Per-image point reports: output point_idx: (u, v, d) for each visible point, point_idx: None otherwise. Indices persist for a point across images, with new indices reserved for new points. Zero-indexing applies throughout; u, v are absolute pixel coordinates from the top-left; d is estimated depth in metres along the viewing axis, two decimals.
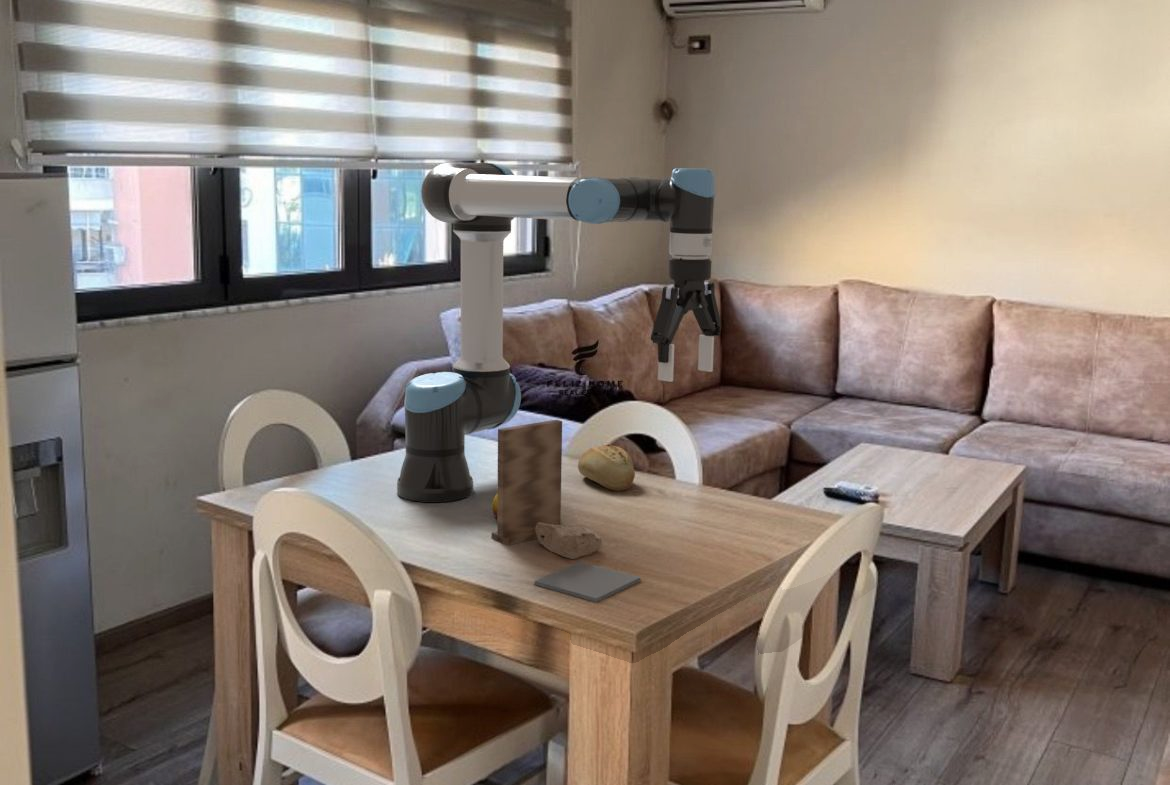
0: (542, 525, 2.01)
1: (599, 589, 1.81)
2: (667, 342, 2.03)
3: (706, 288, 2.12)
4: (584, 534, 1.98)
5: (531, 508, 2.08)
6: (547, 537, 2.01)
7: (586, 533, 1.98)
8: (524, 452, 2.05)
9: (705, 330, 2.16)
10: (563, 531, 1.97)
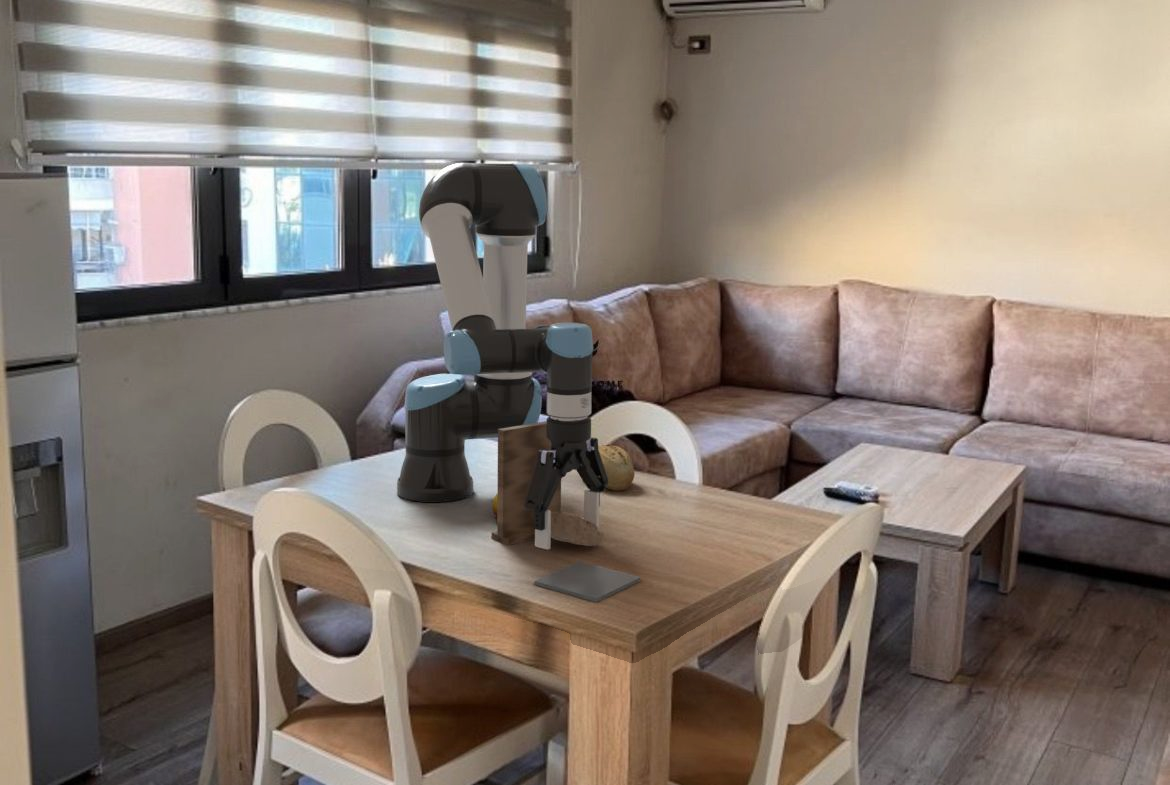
0: None
1: (599, 589, 1.81)
2: (542, 509, 1.92)
3: (589, 444, 2.02)
4: (588, 522, 2.00)
5: None
6: None
7: (590, 521, 2.00)
8: (524, 452, 2.05)
9: (590, 485, 2.05)
10: (568, 513, 1.99)
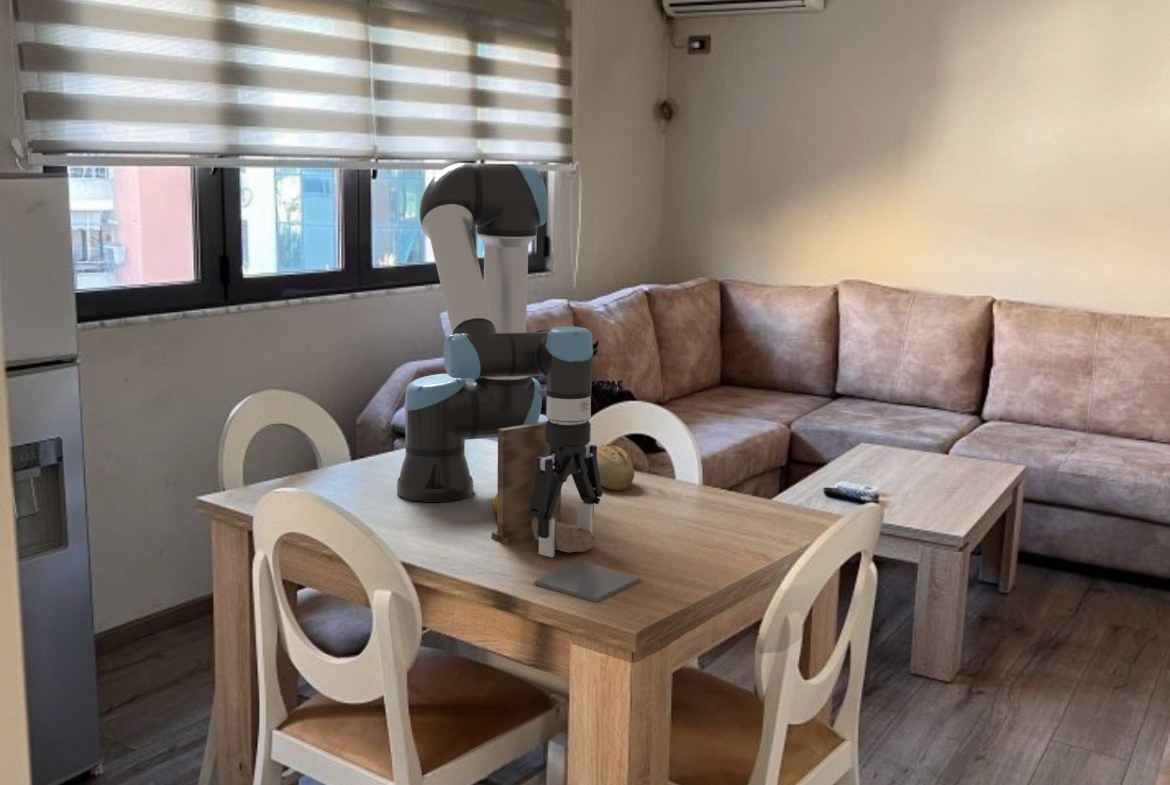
0: None
1: (599, 589, 1.81)
2: (546, 518, 1.93)
3: (588, 451, 2.02)
4: (580, 529, 1.98)
5: None
6: None
7: (582, 528, 1.98)
8: (524, 452, 2.05)
9: (584, 497, 2.04)
10: (560, 523, 1.97)
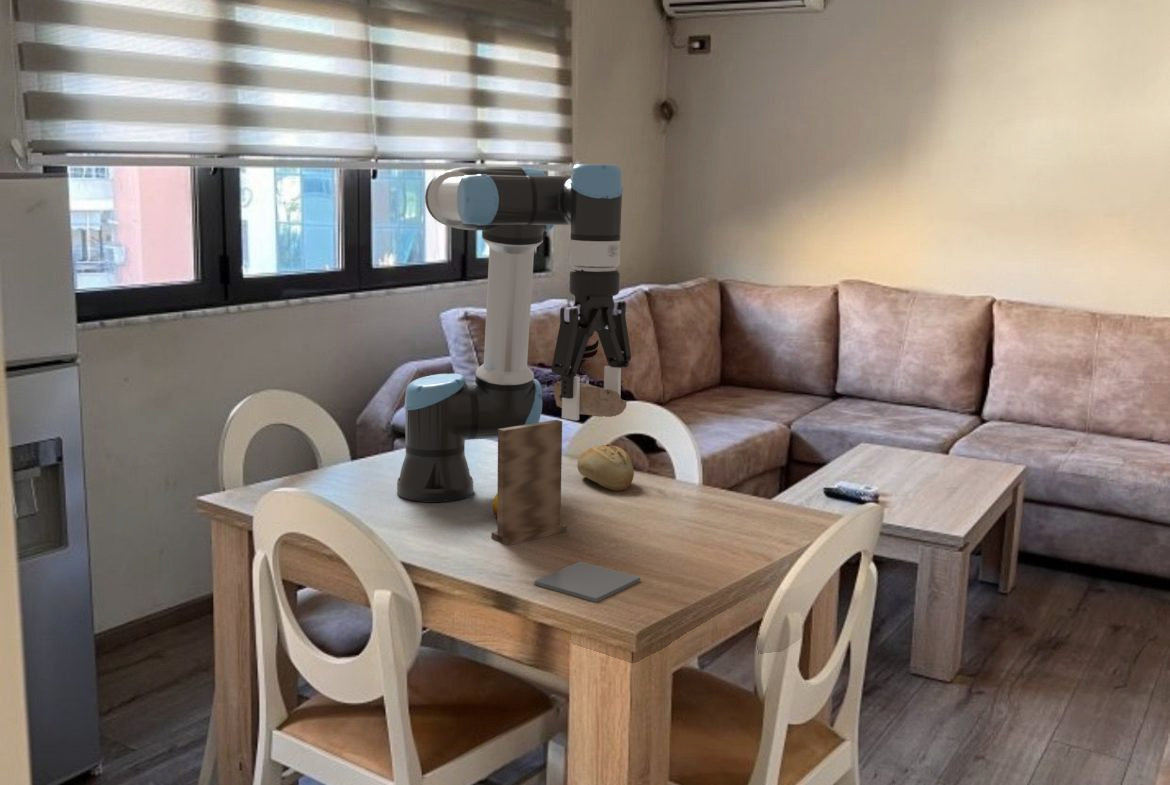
0: None
1: (599, 589, 1.81)
2: (571, 375, 1.73)
3: (616, 307, 1.82)
4: (608, 391, 1.78)
5: (531, 508, 2.08)
6: None
7: (611, 390, 1.78)
8: (524, 452, 2.05)
9: (611, 360, 1.84)
10: (586, 384, 1.77)
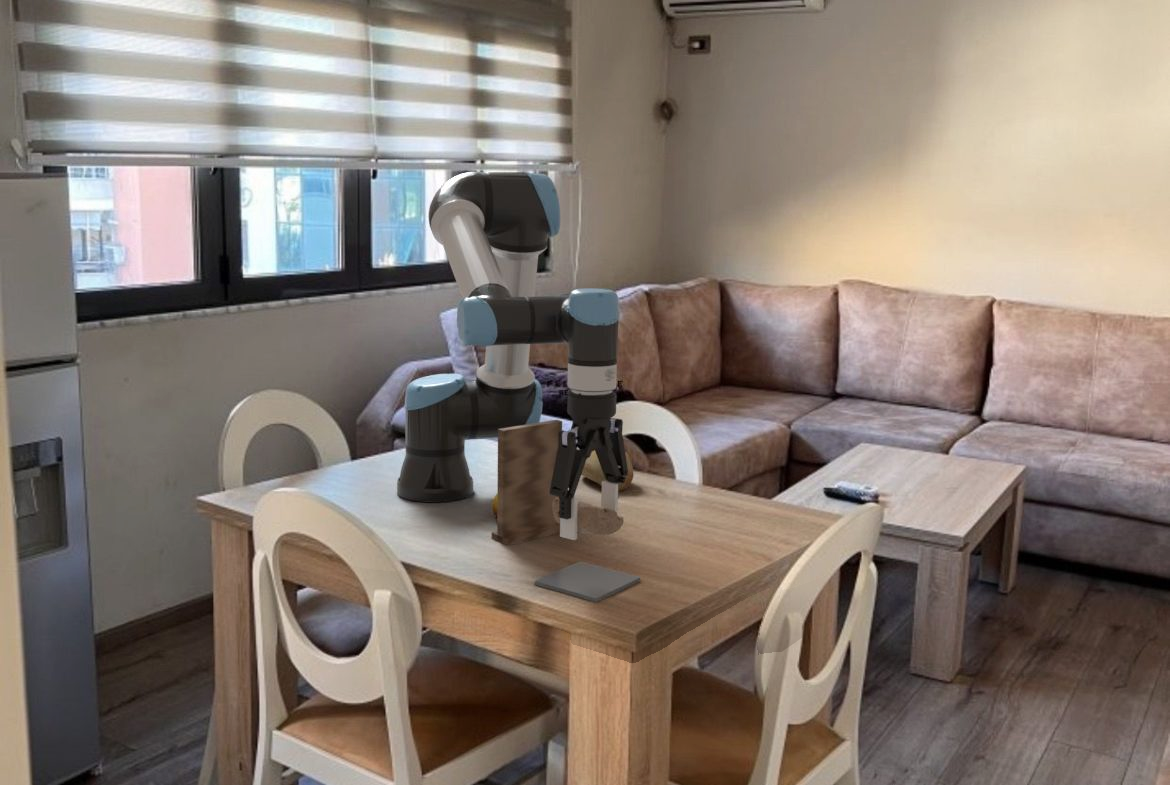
0: None
1: (599, 589, 1.81)
2: (569, 497, 1.77)
3: (613, 425, 1.85)
4: (606, 510, 1.81)
5: (531, 508, 2.08)
6: None
7: (608, 509, 1.81)
8: (524, 452, 2.05)
9: (608, 475, 1.88)
10: (583, 503, 1.80)
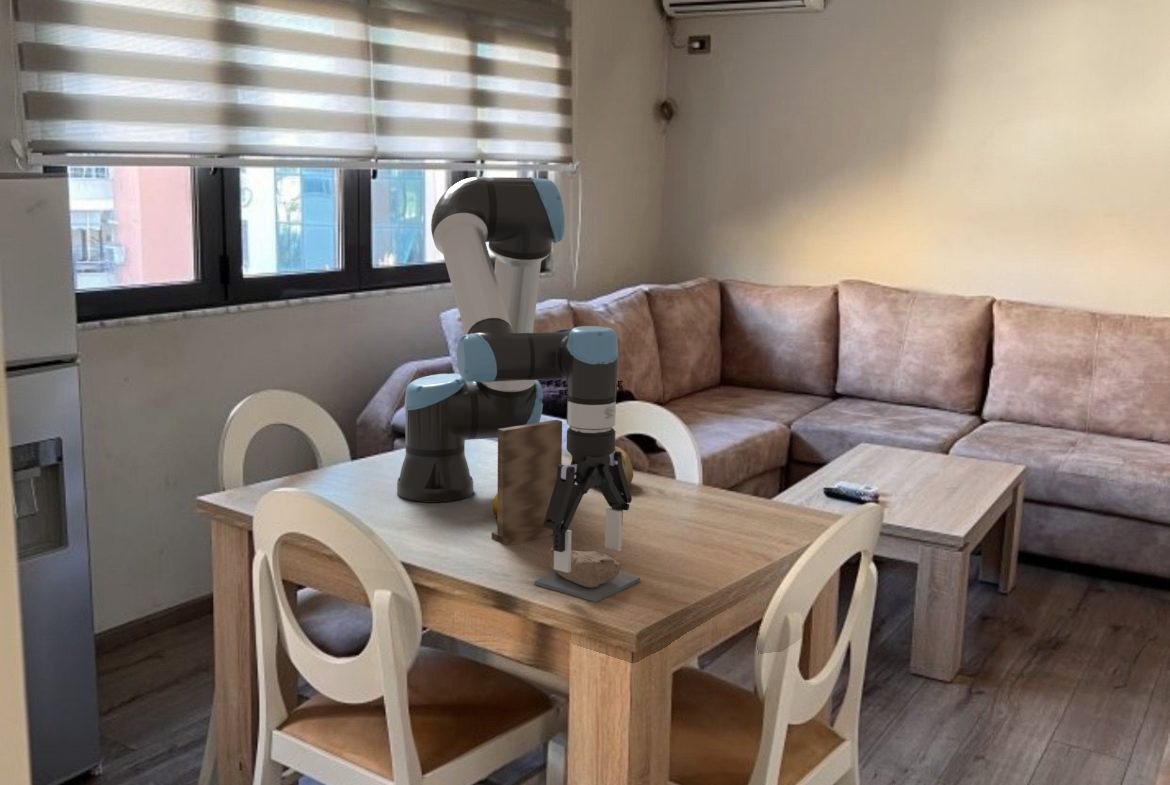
0: None
1: (599, 589, 1.81)
2: (562, 529, 1.77)
3: (612, 458, 1.86)
4: (603, 560, 1.82)
5: (531, 508, 2.08)
6: None
7: (605, 559, 1.82)
8: (524, 452, 2.05)
9: (612, 503, 1.90)
10: (581, 558, 1.81)
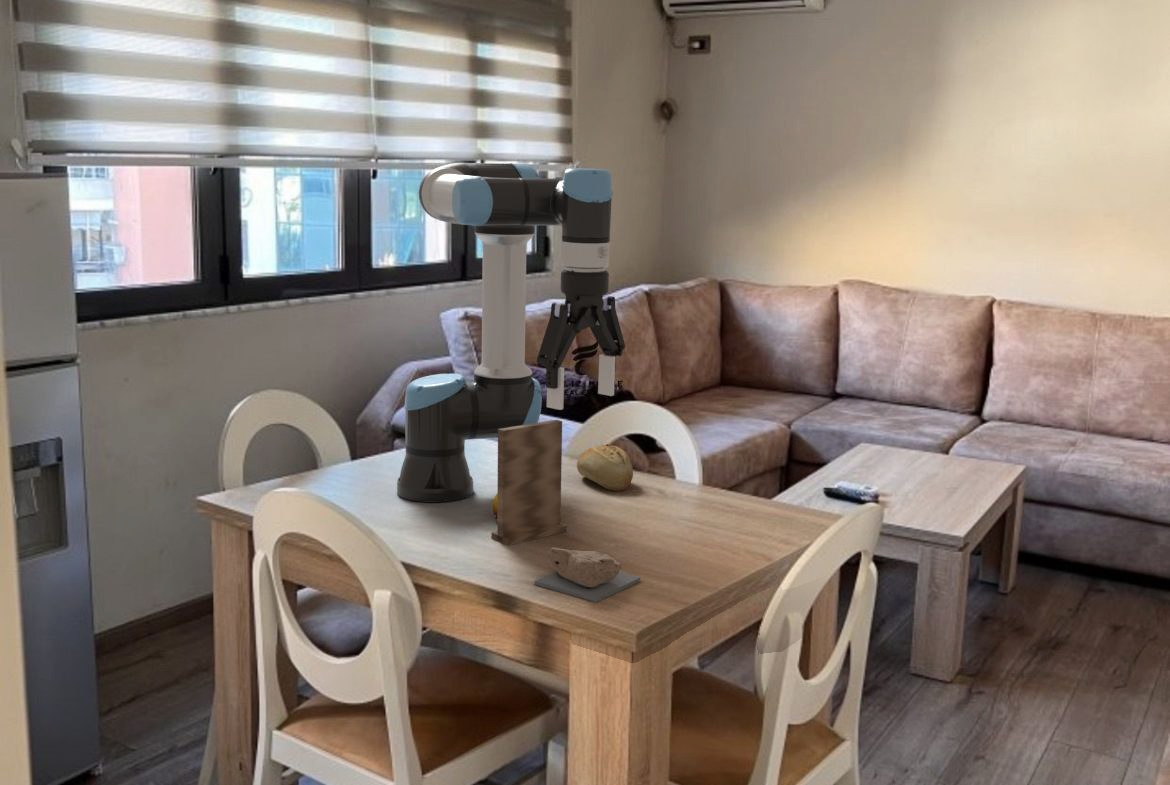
0: (556, 550, 1.85)
1: (599, 589, 1.81)
2: (555, 366, 1.80)
3: (605, 303, 1.89)
4: (603, 560, 1.82)
5: (531, 508, 2.08)
6: (562, 563, 1.85)
7: (605, 559, 1.83)
8: (524, 452, 2.05)
9: (606, 349, 1.93)
10: (580, 557, 1.81)
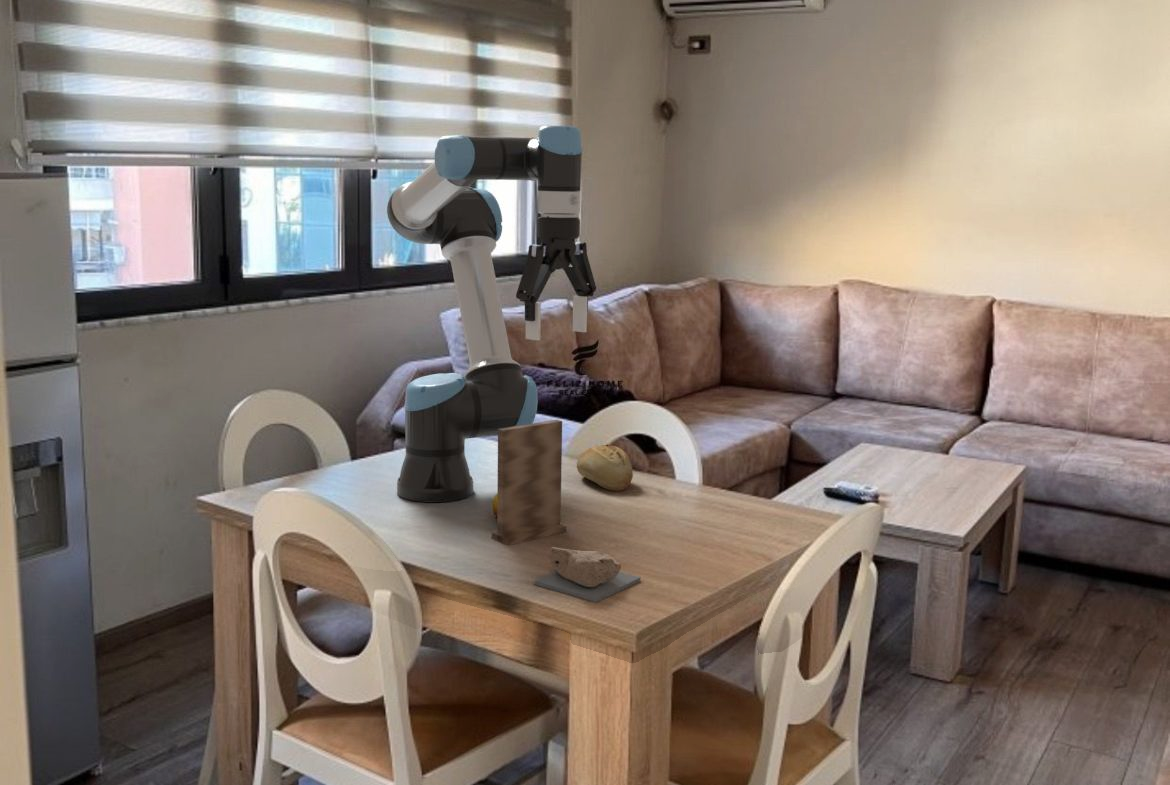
0: (556, 550, 1.85)
1: (599, 589, 1.81)
2: (532, 300, 2.02)
3: (578, 248, 2.12)
4: (602, 560, 1.83)
5: (531, 508, 2.08)
6: (562, 563, 1.85)
7: (605, 559, 1.83)
8: (524, 452, 2.05)
9: (579, 290, 2.15)
10: (580, 557, 1.81)
